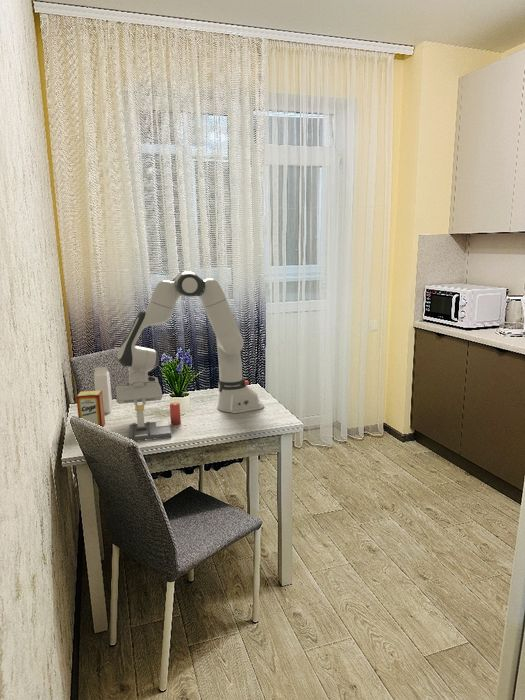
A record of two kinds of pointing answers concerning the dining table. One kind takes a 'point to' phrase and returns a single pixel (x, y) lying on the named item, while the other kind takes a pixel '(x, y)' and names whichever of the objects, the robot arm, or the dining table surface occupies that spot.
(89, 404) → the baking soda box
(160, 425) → the panel
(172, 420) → the cap
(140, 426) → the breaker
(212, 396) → the dining table surface
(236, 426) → the dining table surface
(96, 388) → the milk
